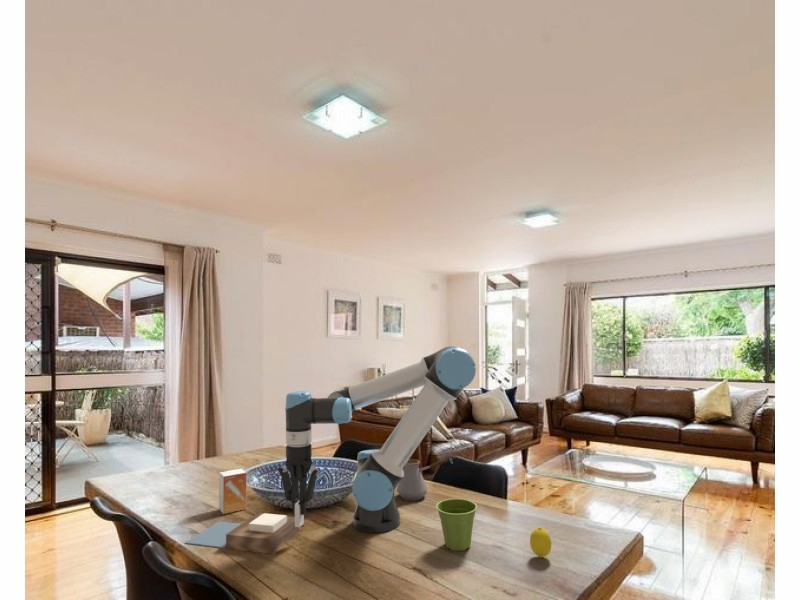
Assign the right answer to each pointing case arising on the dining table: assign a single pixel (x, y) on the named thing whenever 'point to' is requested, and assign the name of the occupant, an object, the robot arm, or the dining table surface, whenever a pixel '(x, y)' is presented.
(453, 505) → the plant pot
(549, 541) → the lemon
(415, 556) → the dining table surface
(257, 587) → the dining table surface
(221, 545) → the mat
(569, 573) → the dining table surface
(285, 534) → the riser board
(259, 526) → the ceramic tile
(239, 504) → the small box
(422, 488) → the coffee pot
